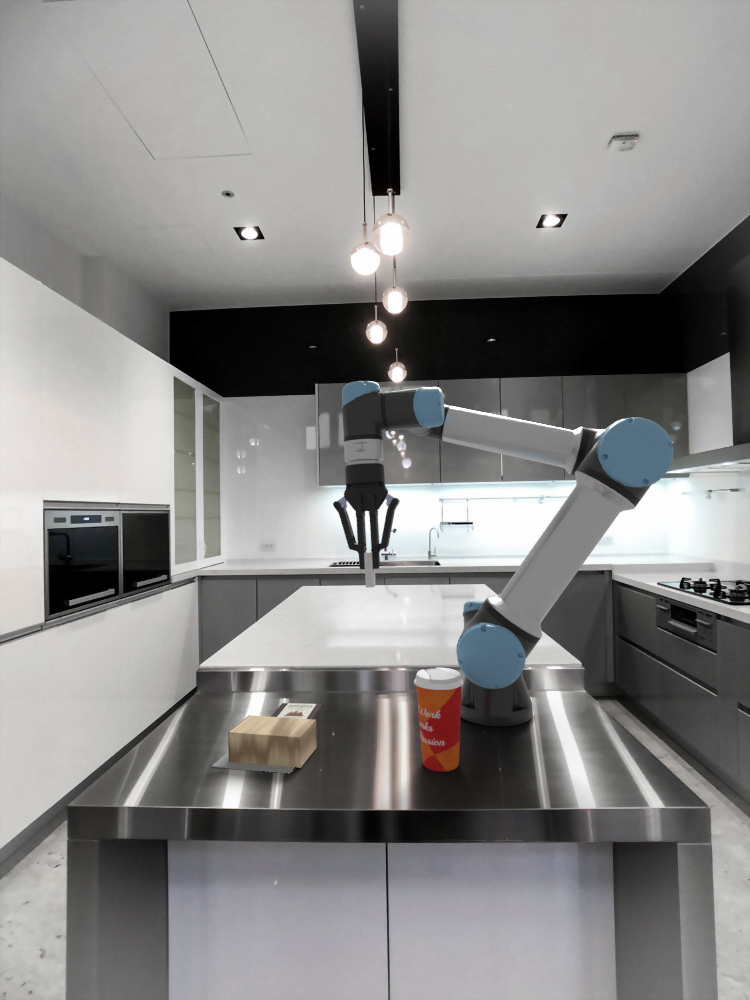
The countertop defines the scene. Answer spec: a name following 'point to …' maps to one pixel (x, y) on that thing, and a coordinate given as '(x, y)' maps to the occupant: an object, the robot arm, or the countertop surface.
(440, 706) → the coffee cup
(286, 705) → the chocolate bar
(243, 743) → the oak block
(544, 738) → the countertop surface
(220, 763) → the felt mat
